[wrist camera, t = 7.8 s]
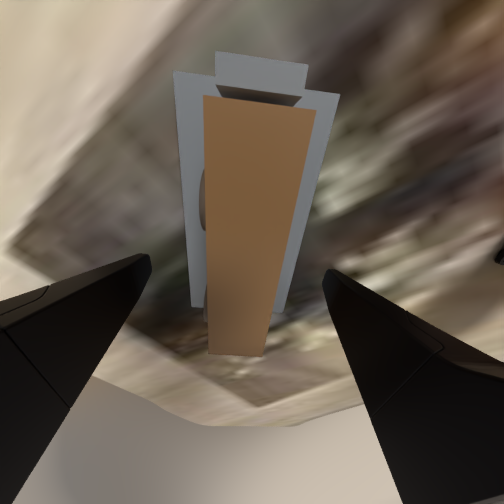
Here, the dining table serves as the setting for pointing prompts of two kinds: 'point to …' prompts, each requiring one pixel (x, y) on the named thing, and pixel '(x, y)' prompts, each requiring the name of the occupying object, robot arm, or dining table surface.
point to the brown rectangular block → (247, 214)
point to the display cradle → (192, 146)
